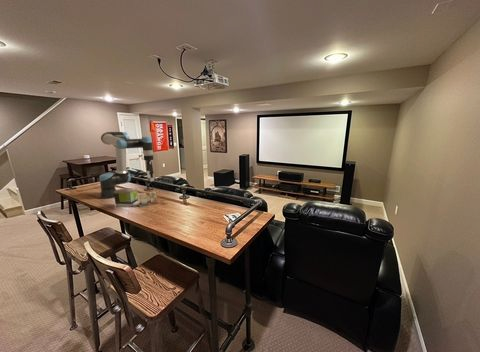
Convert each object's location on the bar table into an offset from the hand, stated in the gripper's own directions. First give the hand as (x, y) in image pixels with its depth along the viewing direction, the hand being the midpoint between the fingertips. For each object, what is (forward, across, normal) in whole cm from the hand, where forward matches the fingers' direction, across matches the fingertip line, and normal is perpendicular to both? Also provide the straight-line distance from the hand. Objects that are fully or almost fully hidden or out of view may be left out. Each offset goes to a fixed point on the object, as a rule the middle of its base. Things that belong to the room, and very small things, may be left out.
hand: (150, 179), depth 167 cm
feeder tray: (+23, -8, 0) cm, 24 cm away
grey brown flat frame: (+23, +1, -4) cm, 23 cm away
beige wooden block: (+21, +1, 0) cm, 21 cm away
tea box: (+23, -10, -20) cm, 32 cm away
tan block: (+21, +1, -7) cm, 23 cm away
